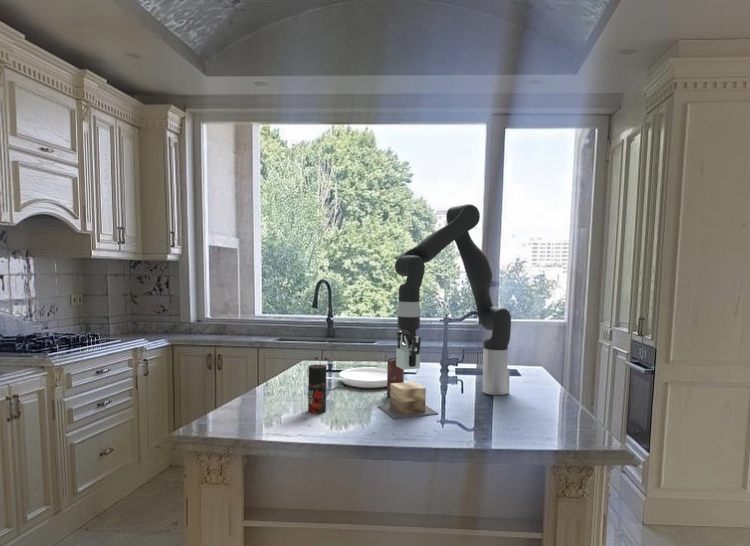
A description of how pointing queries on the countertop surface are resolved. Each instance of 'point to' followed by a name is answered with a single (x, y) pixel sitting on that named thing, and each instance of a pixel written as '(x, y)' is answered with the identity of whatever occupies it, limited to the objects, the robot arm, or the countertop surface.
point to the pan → (364, 377)
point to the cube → (405, 359)
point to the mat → (396, 415)
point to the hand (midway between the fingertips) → (408, 364)
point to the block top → (407, 391)
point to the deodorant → (317, 389)
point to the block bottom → (407, 406)
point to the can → (393, 374)
